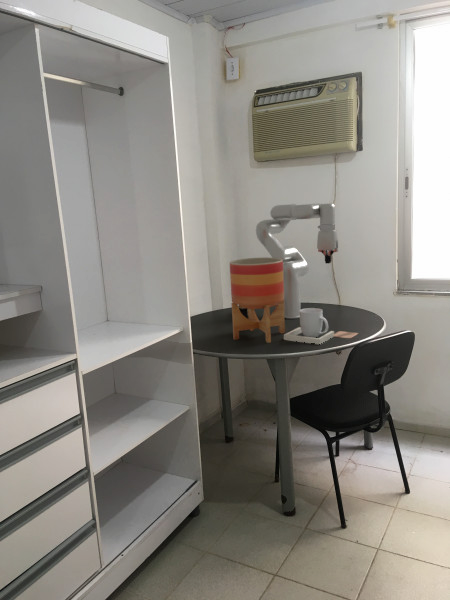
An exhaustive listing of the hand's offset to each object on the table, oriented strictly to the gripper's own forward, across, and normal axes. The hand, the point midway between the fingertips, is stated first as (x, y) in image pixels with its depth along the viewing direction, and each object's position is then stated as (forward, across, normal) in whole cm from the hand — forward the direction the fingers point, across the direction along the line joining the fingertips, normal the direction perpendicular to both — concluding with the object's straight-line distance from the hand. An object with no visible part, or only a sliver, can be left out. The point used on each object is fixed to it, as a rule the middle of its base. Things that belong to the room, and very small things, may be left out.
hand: (328, 263), depth 258 cm
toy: (+33, -53, -4) cm, 62 cm away
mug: (+32, +5, -28) cm, 43 cm away
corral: (+32, +4, -31) cm, 45 cm away
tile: (+32, +17, -19) cm, 41 cm away
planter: (+32, -20, -38) cm, 54 cm away
